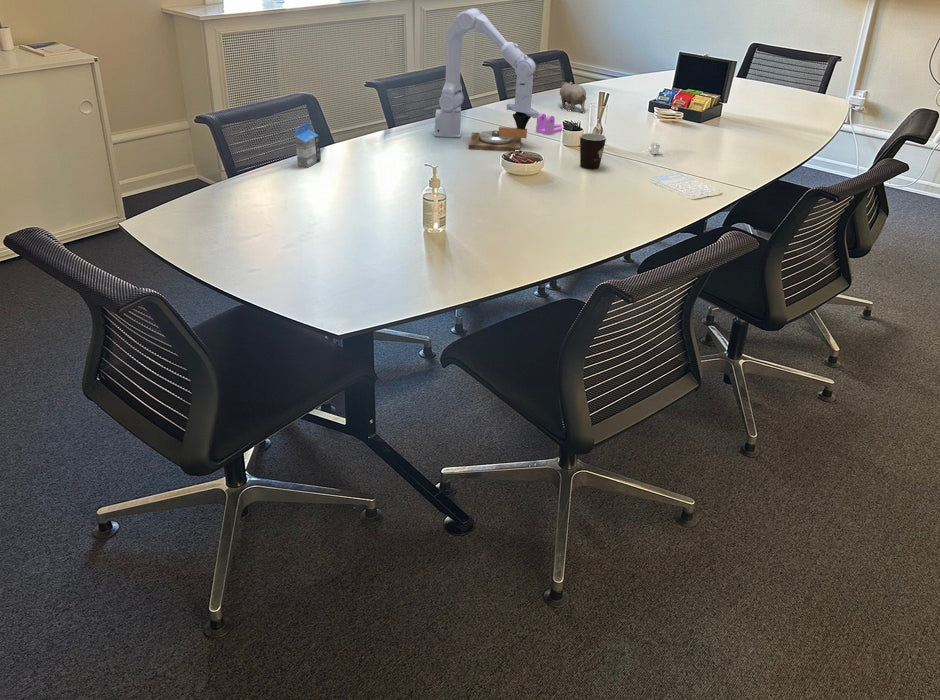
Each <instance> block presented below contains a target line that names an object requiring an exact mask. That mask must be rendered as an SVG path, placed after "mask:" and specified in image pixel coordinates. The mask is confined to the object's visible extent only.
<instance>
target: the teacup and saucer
mask: <svg viewBox="0 0 940 700" xmlns="http://www.w3.org/2000/svg"><path fill="white" fill-rule="evenodd" d="M660 146H661V143H659V142H651V144H650V146H648V149H646V150H647V151H648V150H649V151H651V152H650V154H651V153H652V154H651V155H653V154H657V155H658V154H659V151H660V148H661V147H660ZM644 151H645V150H643V151H642V153H643V152H644Z"/></svg>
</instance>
